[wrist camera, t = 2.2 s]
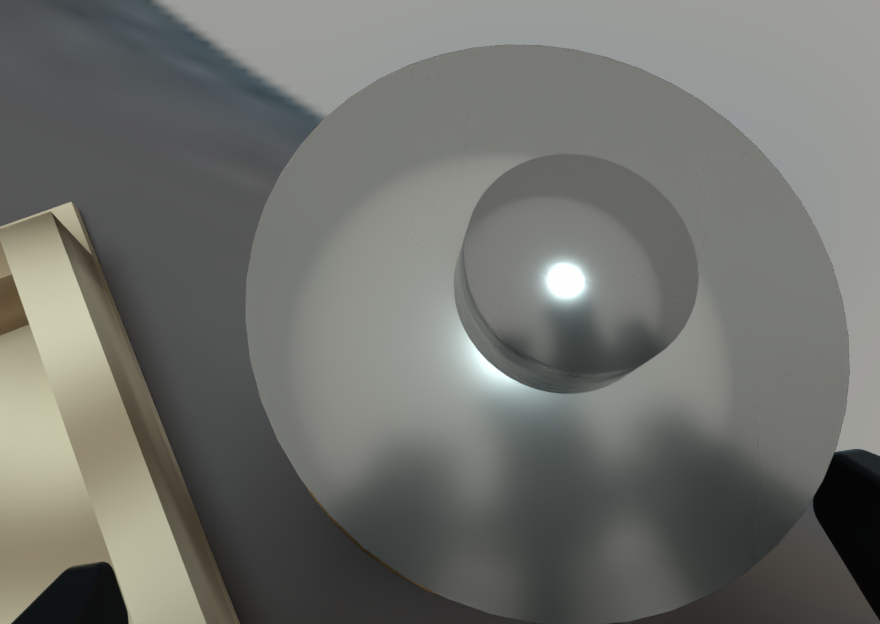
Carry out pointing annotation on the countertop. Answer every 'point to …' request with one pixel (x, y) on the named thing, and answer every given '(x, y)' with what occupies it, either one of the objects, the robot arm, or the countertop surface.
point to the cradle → (87, 441)
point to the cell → (547, 335)
